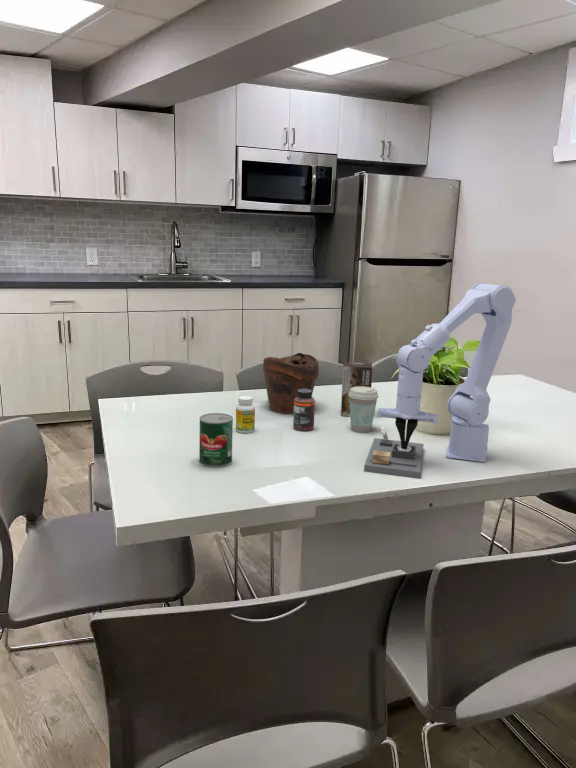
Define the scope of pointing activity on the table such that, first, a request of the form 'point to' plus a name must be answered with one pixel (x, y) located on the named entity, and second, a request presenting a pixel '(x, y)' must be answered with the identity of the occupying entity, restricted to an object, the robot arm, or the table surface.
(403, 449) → the steel push button
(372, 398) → the coffee cup
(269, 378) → the brown leather bucket
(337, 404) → the table surface
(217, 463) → the canned tomato
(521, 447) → the table surface
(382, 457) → the block
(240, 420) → the supplement bottle
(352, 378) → the coffee box
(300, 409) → the supplement bottle
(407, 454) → the control panel
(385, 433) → the off-white toggle lever
